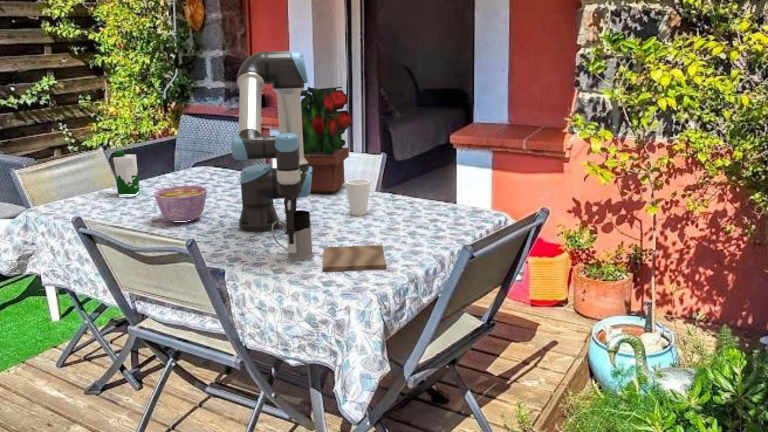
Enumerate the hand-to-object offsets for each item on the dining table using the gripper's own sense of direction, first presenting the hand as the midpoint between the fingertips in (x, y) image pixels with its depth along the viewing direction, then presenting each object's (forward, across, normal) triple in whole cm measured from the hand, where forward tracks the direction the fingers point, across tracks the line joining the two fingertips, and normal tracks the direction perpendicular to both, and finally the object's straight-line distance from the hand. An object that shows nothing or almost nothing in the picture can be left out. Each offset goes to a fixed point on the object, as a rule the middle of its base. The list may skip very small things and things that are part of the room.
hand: (293, 248), depth 259 cm
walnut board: (+3, -5, -20) cm, 21 cm away
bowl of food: (+4, +51, +46) cm, 69 cm away
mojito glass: (+4, +94, +78) cm, 122 cm away
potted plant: (+4, +91, -8) cm, 91 cm away
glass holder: (+3, -1, 0) cm, 4 cm away
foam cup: (+4, +51, -23) cm, 56 cm away
